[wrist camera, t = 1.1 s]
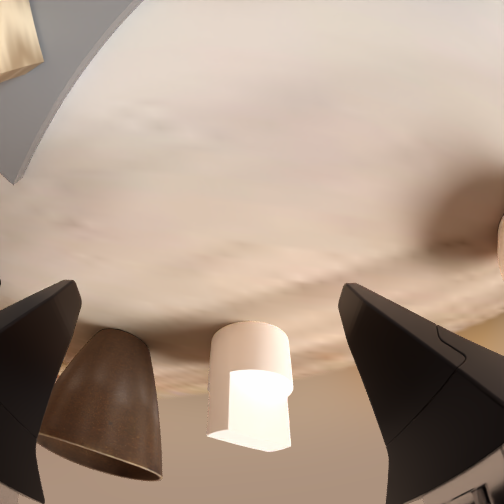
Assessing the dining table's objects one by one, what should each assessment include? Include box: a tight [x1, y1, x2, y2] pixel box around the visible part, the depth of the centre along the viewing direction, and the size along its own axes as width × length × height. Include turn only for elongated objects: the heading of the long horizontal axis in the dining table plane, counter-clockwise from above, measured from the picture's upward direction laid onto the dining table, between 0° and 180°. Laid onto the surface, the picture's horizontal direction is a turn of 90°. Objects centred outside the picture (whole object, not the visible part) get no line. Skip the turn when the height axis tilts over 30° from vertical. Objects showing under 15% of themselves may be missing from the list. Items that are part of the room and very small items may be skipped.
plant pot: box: [36, 329, 162, 481], centre depth 29 cm, size 15×15×16 cm
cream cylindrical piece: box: [207, 321, 293, 452], centre depth 30 cm, size 9×9×12 cm
